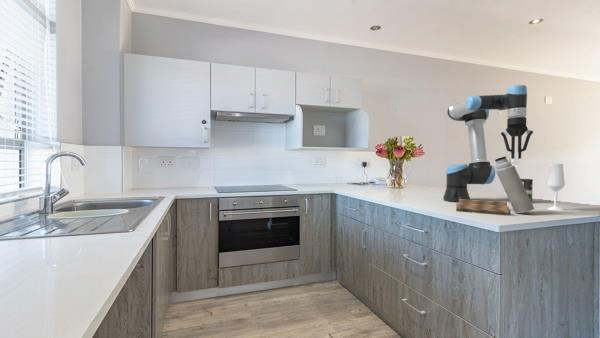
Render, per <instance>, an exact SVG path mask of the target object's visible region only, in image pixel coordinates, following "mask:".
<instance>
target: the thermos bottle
mask: <svg viewBox="0 0 600 338" xmlns="http://www.w3.org/2000/svg"><path fill="white" fill-rule="evenodd" d="M494 161H495V164H496V165H495V173H496V174H497V177H498V179H499V181H500V183H501V185H502V188H503V189H504V192H505V194H506V196H507V199H508V201H509V202H510V205H511V207H512V209H513V212H514V214H523V213H527V212H531V211H533V210H535V208H534V205H533V202H532V203H531V200H530V198H529V196H528V194H527V192H526V190H525V188H524V186H523V183H522V181H521V179H522V178H521V177H520V175H519V173H518V171H517V169H516V166H514V165H512V162H511V161H509V160H508V159H507V156H502V157H499V158H495V159H494Z"/></svg>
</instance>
